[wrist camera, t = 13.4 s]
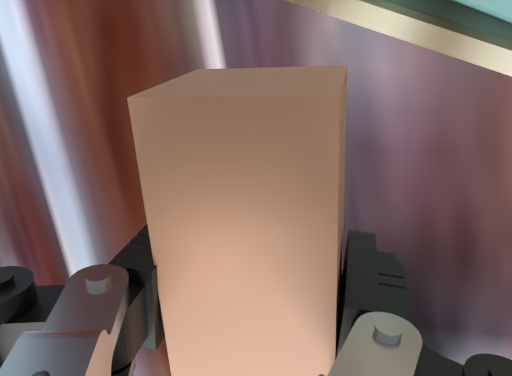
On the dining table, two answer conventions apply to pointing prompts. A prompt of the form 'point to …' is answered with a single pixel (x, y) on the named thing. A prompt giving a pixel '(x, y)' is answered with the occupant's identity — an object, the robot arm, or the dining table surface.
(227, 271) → the block
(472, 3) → the batten teal
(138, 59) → the dining table surface
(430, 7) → the slot rack
